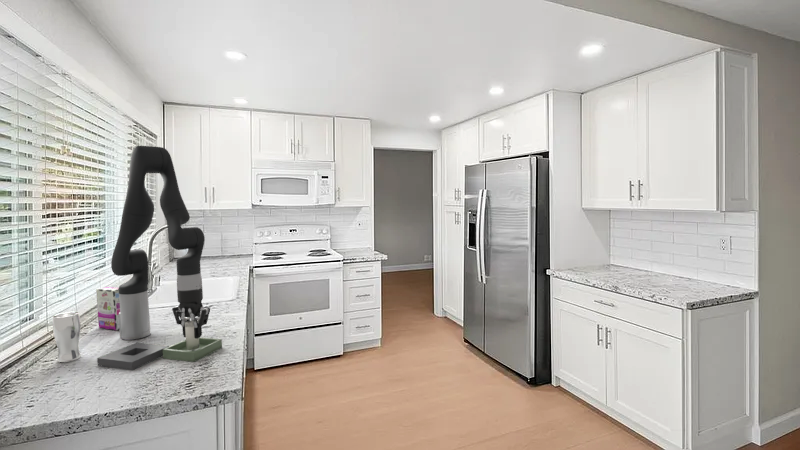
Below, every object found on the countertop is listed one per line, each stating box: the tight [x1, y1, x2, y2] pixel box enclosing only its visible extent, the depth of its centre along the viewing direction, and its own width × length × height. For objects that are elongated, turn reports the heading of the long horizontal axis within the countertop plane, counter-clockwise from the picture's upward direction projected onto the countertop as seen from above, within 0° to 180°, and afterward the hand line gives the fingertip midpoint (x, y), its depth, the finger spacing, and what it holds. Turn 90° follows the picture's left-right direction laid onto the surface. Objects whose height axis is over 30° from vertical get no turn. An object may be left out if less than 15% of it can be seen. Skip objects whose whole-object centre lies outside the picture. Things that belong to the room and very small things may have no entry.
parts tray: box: [162, 336, 223, 363], centre depth 137 cm, size 13×13×3 cm
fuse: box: [185, 319, 200, 350], centre depth 137 cm, size 4×4×9 cm
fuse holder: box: [96, 342, 170, 371], centre depth 133 cm, size 14×14×2 cm
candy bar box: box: [95, 286, 120, 331], centre depth 166 cm, size 11×5×16 cm, turn 68°
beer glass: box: [52, 311, 82, 363], centre depth 134 cm, size 7×7×15 cm
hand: (192, 336), depth 137 cm, fingers closed on fuse, 4 cm apart
